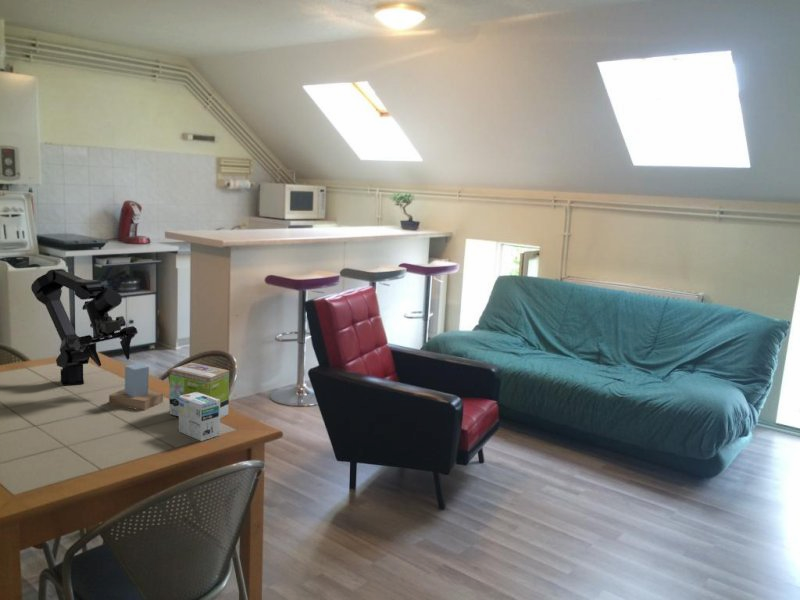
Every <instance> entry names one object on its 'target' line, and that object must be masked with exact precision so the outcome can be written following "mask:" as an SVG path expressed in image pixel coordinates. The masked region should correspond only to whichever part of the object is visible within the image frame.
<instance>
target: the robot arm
mask: <svg viewBox="0 0 800 600" xmlns="http://www.w3.org/2000/svg"><path fill="white" fill-rule="evenodd" d="M30 286H31V287H30V290H31V292H32V293H33V295H34V297H35V299H36V300H37V301H38V302H41V304H43V305H44V306H45V307H46V310H47V312H48V315H49V317H50V319H51V321H52V323H53V325H54V328H55V330H56V332H57V335H58V336H59V338H60V341H61V342H60V347H59V352H60V354H59V355H58V357H56V359H55V362H56V366H57V367H60V383H61V384H62V386H72V385H73V386H74V385H84V384H85V380H84V365H88V364H89V362H90V361H89V360H90V359H91V360H92V362H94V363H95V364H96V365H97V367H99V368H100V367H101V366H102V362H101V359H100V357H99V355H98V352H97V350H96V344H97V343H101V342H105V341H110V340H114V339H119V340H121V341H119V343H120V345H121V349H122V352H123V354H124V356H125V358H126V360H130V357H131V356H130V352H131V341H132V340H133V339H134V338H135V337H136V335H137V334H138V329H137V328H136V327H135V326H134V325H131V326H126V324H127V323H126V319H125V317H124V316H123V315H122V316H121V315H120V316H117V317H115V319H113V317H112V316H110V315H109V313H110V312H111V311H113V310H114V309H115V308H117V307H119V306H120V305H121V304H122V301H123V299H122V295H121V294H120V293H119V292H118V291H116V290H115V289H114V288H113V286H106V287H105V286H104V285H103V284H102V282H101V281H100V280H97V279H96V280H95V279H85V278H82V277H80V276H78V275H75V274H73V273H70V272H68V271H66V270H65V269H64V268H55V269H50V270H48V271H47V272H46V273H44V274H42V275H41V276H39V277H38V278H36V279H35V280H34V281H33V282H32V284H31V285H30ZM63 287H65V288H66V289H69V290H71V291H73V292H74V296H75V297H77V298H79V299H80V300H87V301H84V303H83V305H82V308H81V309H82V310H83V311H84V310H85V311H86V312H87V315H88V317H89V318H88V319H89V322H90V324H89V326H90V328H92V330H93V334H94V336H92V335H91V334H88V335H83V336H78V335H77V333H76V331H75V329H74V327H73V324H72V322H71V320H70V318H69V316H68V313H67V311H66V310H65V306H64V305H63V303H62V300H61V296H62V294H63V292H62V291H63V290H62V288H63ZM122 327H123V328H122Z"/></svg>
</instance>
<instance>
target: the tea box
mask: <svg viewBox="0 0 800 600" xmlns="http://www.w3.org/2000/svg"><path fill="white" fill-rule="evenodd" d="M194 392H199V393H202V394H205V395H207V396H210V397H213V398H217V399H220V419H222V418H224V417H227V416H228V415H229V403H230V402H229V399H230V397H229V396H230V369H229V370H228V369H223V368H220V367H215V366H209V365H206V364H205V365H204V364H200V363H195V362H191V361H190V362H189V363H185V364H183V365H181V366H180V365H179V366H177V367H174V368H171V369H169V402H168V403H169V415H171V416H175V417H179V396H181V395H186V394H190V393H194Z"/></svg>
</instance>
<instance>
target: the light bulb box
mask: <svg viewBox="0 0 800 600" xmlns="http://www.w3.org/2000/svg"><path fill="white" fill-rule="evenodd" d="M178 432H179V433H181V434H184V435H186V436H189V437H191V438H193V439H196V440H198V441H200V442H203V441H206V440H209V439H212V438H215V437H216V438H217V437H219V436H221V418H220V399H217V398H213V397H210V396H207V395H205V394H202V393H199V392H194V393H190V394H186V395H181V396H179V416H178Z"/></svg>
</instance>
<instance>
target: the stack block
mask: <svg viewBox="0 0 800 600" xmlns="http://www.w3.org/2000/svg"><path fill="white" fill-rule="evenodd" d="M108 400H109V401H108V404H109V405H110V404H111V405H110V406H116V405H118V407H122V406H125V407H124V408H127V407H131V408H130V409H133V408H136V409H135V410H139V409H140V410H139V411H144V412H145V411H146V410H149V409H151V408H153V407H155V405H156V406H157V405H159V404H162V403H163V402H164V393H163V392H159V391H153V390H148V394H147V395H143V396H138V397H132V396H129V395H127V394H125V388H124V389H120V390H118V391H116V392H113V393H111V394H108Z"/></svg>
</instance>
